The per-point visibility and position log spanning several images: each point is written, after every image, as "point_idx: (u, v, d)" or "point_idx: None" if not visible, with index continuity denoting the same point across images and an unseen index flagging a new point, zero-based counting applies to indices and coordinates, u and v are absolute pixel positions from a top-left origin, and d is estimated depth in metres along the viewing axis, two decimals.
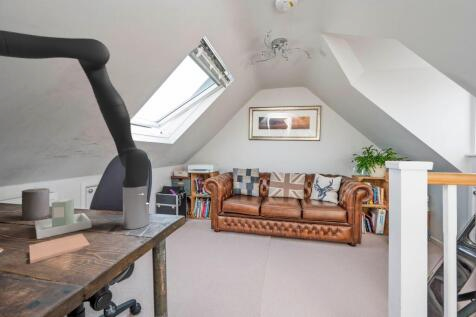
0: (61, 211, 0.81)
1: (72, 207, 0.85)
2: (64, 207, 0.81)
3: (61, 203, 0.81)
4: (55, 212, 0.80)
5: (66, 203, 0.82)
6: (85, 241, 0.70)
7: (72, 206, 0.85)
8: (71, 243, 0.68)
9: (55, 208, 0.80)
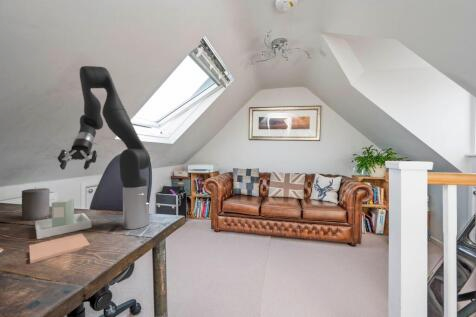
0: (61, 211, 0.81)
1: (72, 207, 0.85)
2: (64, 207, 0.81)
3: (61, 203, 0.81)
4: (55, 212, 0.80)
5: (66, 203, 0.82)
6: (85, 241, 0.70)
7: (72, 206, 0.85)
8: (71, 243, 0.68)
9: (55, 208, 0.80)
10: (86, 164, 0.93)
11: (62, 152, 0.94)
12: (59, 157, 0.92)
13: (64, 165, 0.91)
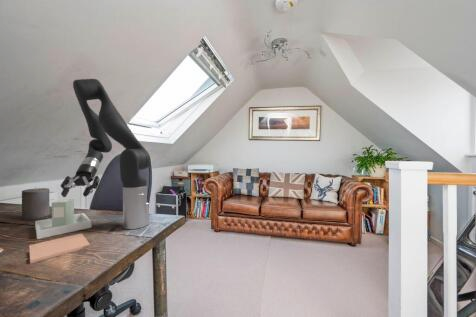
0: (61, 211, 0.81)
1: (72, 207, 0.85)
2: (64, 207, 0.81)
3: (61, 203, 0.81)
4: (55, 212, 0.80)
5: (66, 203, 0.82)
6: (85, 241, 0.70)
7: (72, 206, 0.85)
8: (71, 243, 0.68)
9: (55, 208, 0.80)
10: (86, 191, 0.91)
11: (66, 179, 0.94)
12: (62, 184, 0.92)
13: (66, 192, 0.90)
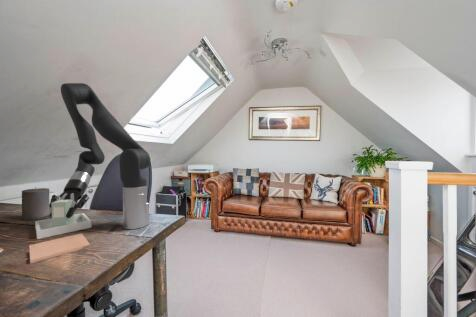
0: (61, 211, 0.81)
1: None
2: (64, 207, 0.81)
3: (61, 203, 0.81)
4: (55, 212, 0.80)
5: (66, 203, 0.82)
6: (85, 241, 0.70)
7: None
8: (71, 243, 0.68)
9: (55, 208, 0.80)
10: (69, 212, 0.82)
11: (53, 198, 0.85)
12: (51, 204, 0.83)
13: None
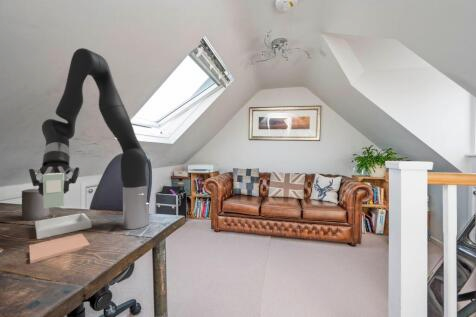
0: (56, 184, 0.68)
1: None
2: (61, 179, 0.69)
3: (57, 175, 0.68)
4: (49, 186, 0.67)
5: (63, 175, 0.70)
6: (85, 241, 0.70)
7: None
8: (71, 243, 0.68)
9: (48, 181, 0.67)
10: (66, 186, 0.71)
11: (32, 172, 0.69)
12: (34, 179, 0.68)
13: None
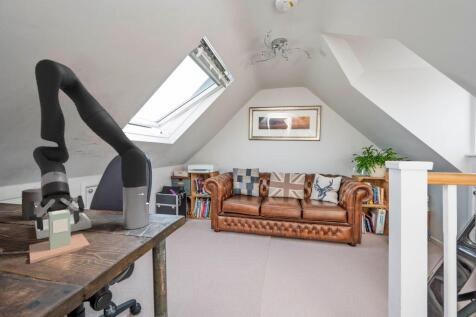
0: (63, 223, 0.66)
1: None
2: (68, 218, 0.67)
3: (64, 214, 0.66)
4: (56, 226, 0.65)
5: (69, 213, 0.68)
6: (85, 241, 0.70)
7: None
8: (71, 243, 0.68)
9: (55, 221, 0.65)
10: (77, 216, 0.70)
11: (31, 205, 0.65)
12: (31, 213, 0.64)
13: (42, 224, 0.64)
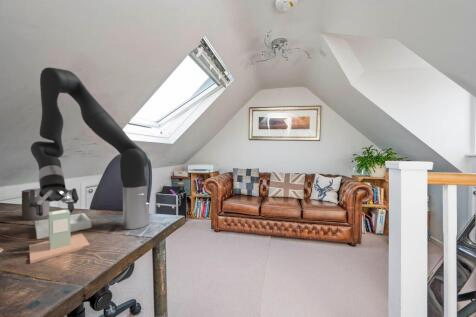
0: (63, 223, 0.66)
1: None
2: (68, 218, 0.67)
3: (64, 214, 0.66)
4: (56, 226, 0.65)
5: (69, 213, 0.68)
6: (85, 241, 0.70)
7: None
8: (71, 243, 0.68)
9: (55, 221, 0.65)
10: (72, 207, 0.80)
11: (32, 193, 0.74)
12: (32, 201, 0.73)
13: None
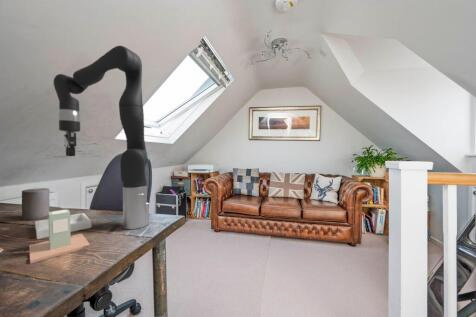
0: (63, 223, 0.66)
1: None
2: (68, 218, 0.67)
3: (64, 214, 0.66)
4: (56, 226, 0.65)
5: (69, 213, 0.68)
6: (85, 241, 0.70)
7: None
8: (71, 243, 0.68)
9: (55, 221, 0.65)
10: None
11: None
12: None
13: None
